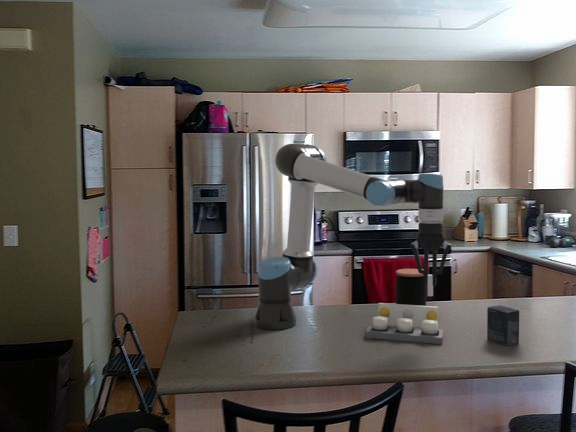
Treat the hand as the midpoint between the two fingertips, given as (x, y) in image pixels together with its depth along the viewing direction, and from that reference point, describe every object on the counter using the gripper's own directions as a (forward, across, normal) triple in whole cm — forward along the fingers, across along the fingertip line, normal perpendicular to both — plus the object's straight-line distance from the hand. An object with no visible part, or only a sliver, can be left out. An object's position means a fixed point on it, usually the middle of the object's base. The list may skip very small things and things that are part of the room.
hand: (430, 295), depth 166 cm
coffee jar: (+15, -8, +20) cm, 26 cm away
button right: (+12, 0, 0) cm, 12 cm away
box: (+15, +22, +4) cm, 27 cm away
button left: (+12, -16, 0) cm, 20 cm away
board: (+14, -8, 0) cm, 16 cm away
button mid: (+12, -8, 0) cm, 14 cm away
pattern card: (+14, -8, +10) cm, 19 cm away
